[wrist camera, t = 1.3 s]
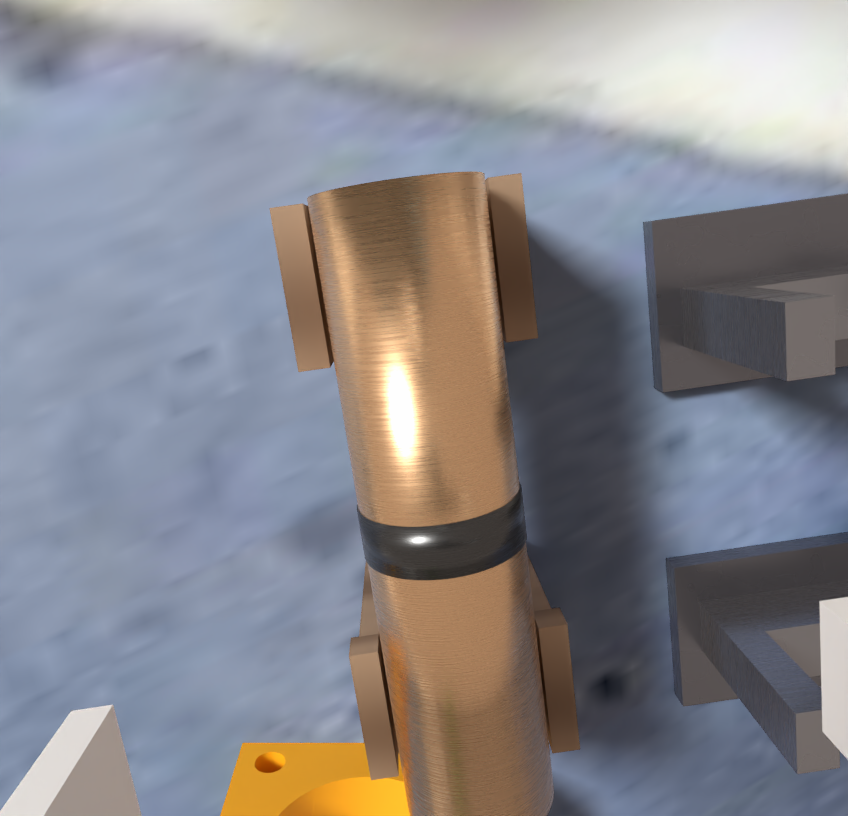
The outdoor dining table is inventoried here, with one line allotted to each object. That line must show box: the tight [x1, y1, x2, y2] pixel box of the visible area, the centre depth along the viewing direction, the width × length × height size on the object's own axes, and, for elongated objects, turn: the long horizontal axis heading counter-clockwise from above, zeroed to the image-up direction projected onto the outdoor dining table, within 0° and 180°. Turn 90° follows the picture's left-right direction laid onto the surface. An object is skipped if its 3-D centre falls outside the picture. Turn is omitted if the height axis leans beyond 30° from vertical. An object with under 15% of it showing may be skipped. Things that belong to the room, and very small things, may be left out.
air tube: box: [307, 172, 554, 816], centre depth 22 cm, size 20×5×5 cm, turn 8°
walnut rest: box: [270, 173, 580, 780], centre depth 28 cm, size 20×8×8 cm, turn 8°
